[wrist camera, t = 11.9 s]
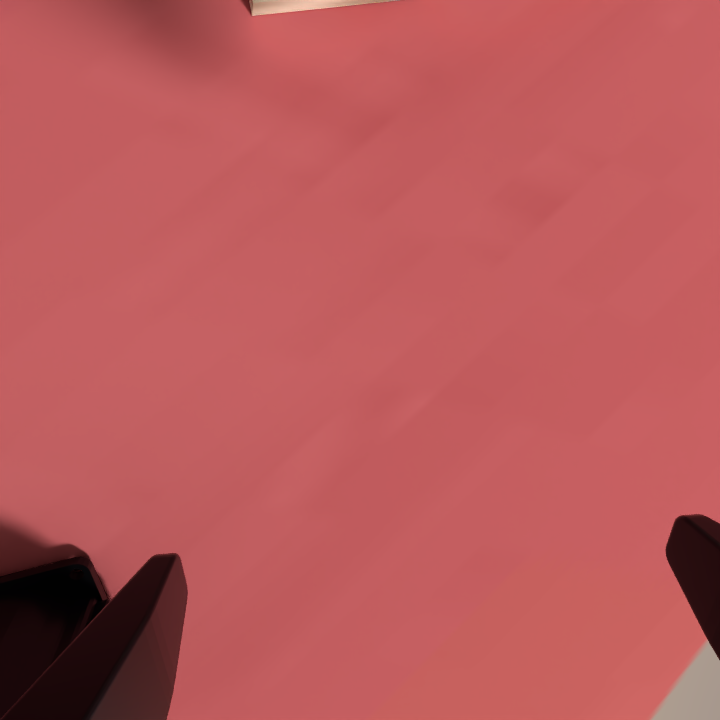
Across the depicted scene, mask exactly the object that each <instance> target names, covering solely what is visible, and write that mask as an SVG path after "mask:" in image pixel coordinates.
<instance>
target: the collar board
mask: <svg viewBox="0 0 720 720" xmlns="http://www.w3.org/2000/svg"><path fill="white" fill-rule="evenodd" d="M388 1H398V0H249V2H250V8H251V13H252V16H255V15H265V14H274V13H284V12H293V11H303V10H312V9H322V8H331V7H341V6H350V5H360V4H369V3H379V2H388Z"/></svg>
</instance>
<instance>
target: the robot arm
mask: <svg viewBox="0 0 720 720" xmlns="http://www.w3.org/2000/svg"><path fill="white" fill-rule="evenodd" d="M666 557H667V560H668V562H669V565H670V567H671V569H672V571H673V572H674V574H675V576H676V578H677V580H678V582H679V584H680V586H681V588H682V590H683V592H684V594H685V596H686V598H687V600H688V602H689V604H690V606H691V608H692V610H693V612H694V614H695V616H696V618H697V620H698V622H699V624H700V626H701V628H702V630H703V632H704V634H705V636H706V637H707V639H708V641H709V643H710V645H711V646H712V648H713V650H714V651H715V653H716V655H717V657H718V658H719V660H720V524H719V523H718V522H716V521H714V520H712V519H710V518H708V517H706V516H704V515H700V514H694V515H681V516H679V517H678V518H676V520H675V522H674V524H673V527H672V530H671V533H670V536H669V539H668V542H667V545H666ZM74 569H79V570H82V572H81V573H77V572H75V571H74ZM187 595H188V590H187V583H186V579H185V575H184V571H183V567H182V563H181V559H180V557H179V555H178V554H176V553H169V554H157V555H154V556H152V557H151V558H150V559H149V560H148V561H147V562H146V563H145V564H144V565H143V566H142V568H141V569H140V570H139V571H138V572H137V573H136V574H135V575H134V576H133V577H132V578H131V579H130V580H129V581H128V583H127V584H126V585H125V586H124V587H123V588H122V589H121V590H120V591H119V592H118V593H117V594H116V595H115V597H114V598H113V599H112V600H110V599H108V598H107V596H106V594H105V591H104V589H103V587H102V584H101V582H100V580H99V577H98V575H97V573H96V570H95V568H94V566H93V564H92V562H91V561H90V560H89V559H87V558H84V557H75V558H71V559H67V560H63V561H59V562H55V563H52V564H48V565H44V566H40V567H36V568H32V569H29V570H25V571H21V572H17V573H13V574H9V575H5V576H2V577H0V720H166V719H167V715H168V712H169V708H170V703H171V699H172V695H173V689H174V683H175V678H176V671H177V664H178V658H179V651H180V644H181V638H182V631H183V624H184V618H185V611H186V604H187Z"/></svg>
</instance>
